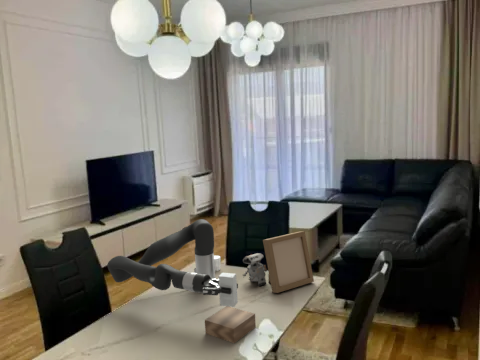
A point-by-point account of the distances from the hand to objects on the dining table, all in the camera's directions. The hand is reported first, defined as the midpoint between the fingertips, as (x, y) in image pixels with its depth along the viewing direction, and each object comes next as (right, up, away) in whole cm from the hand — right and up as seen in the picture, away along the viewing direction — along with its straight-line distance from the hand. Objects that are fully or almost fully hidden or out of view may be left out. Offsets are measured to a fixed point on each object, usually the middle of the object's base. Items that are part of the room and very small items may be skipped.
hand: (234, 288), depth 168 cm
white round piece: (-11, -7, +71) cm, 73 cm away
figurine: (+9, -10, +49) cm, 50 cm away
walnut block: (-1, -18, +4) cm, 18 cm away
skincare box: (-2, -7, +2) cm, 7 cm away
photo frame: (+25, -10, +46) cm, 53 cm away
